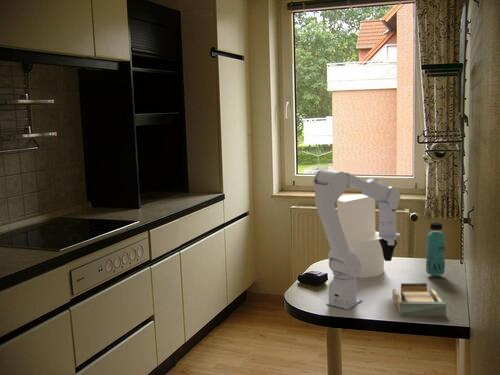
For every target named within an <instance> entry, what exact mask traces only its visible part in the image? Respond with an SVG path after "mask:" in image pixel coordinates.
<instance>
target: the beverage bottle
mask: <svg viewBox="0 0 500 375" xmlns="http://www.w3.org/2000/svg"><path fill="white" fill-rule="evenodd" d="M429 229H430V230H432V231H429V232H428V233H427V234H426V260H425V261H426V262H425V263H426V264H425V265H426V266H425V267H426V270H425V271H426V274H428V275H431V276H442V275H444V274H445V269H446V257H445V256H446V255H445V254H446V234H444V233H443V231H441V230H443V224H442V223H441V222H438V221H437V222H434V221H433V222H431V223H430V227H429Z"/></svg>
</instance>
